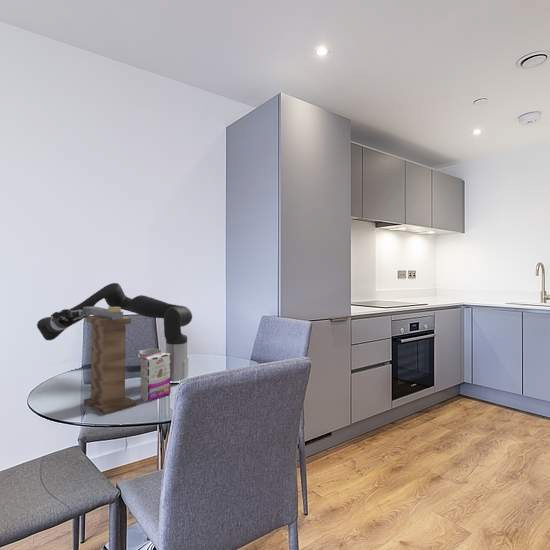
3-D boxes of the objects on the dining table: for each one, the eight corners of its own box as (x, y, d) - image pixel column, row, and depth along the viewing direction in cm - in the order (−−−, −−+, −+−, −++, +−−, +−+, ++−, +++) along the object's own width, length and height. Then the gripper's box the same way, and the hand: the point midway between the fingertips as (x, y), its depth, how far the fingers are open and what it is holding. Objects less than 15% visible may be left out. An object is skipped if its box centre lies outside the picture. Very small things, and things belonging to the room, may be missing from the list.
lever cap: (83, 313, 151) (83, 302, 151) (93, 312, 154) (93, 302, 154) (112, 319, 135) (112, 308, 135) (123, 318, 138) (123, 307, 138)
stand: (83, 402, 142) (83, 316, 141) (114, 394, 151) (115, 314, 151) (104, 414, 131) (105, 321, 130) (136, 405, 140) (137, 318, 139)
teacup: (166, 366, 195) (166, 350, 195) (148, 370, 186) (148, 354, 186) (147, 362, 203) (148, 347, 202) (130, 366, 194) (130, 350, 193)
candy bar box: (162, 391, 156) (162, 351, 155) (170, 394, 153) (171, 353, 153) (139, 399, 146) (139, 357, 146) (148, 402, 144) (148, 359, 143)
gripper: (43, 313, 161) (58, 303, 151) (78, 310, 172) (94, 300, 162) (46, 330, 159) (61, 321, 149) (81, 326, 170) (97, 317, 160)
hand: (78, 310), depth 156 cm, fingers open, 8 cm apart
